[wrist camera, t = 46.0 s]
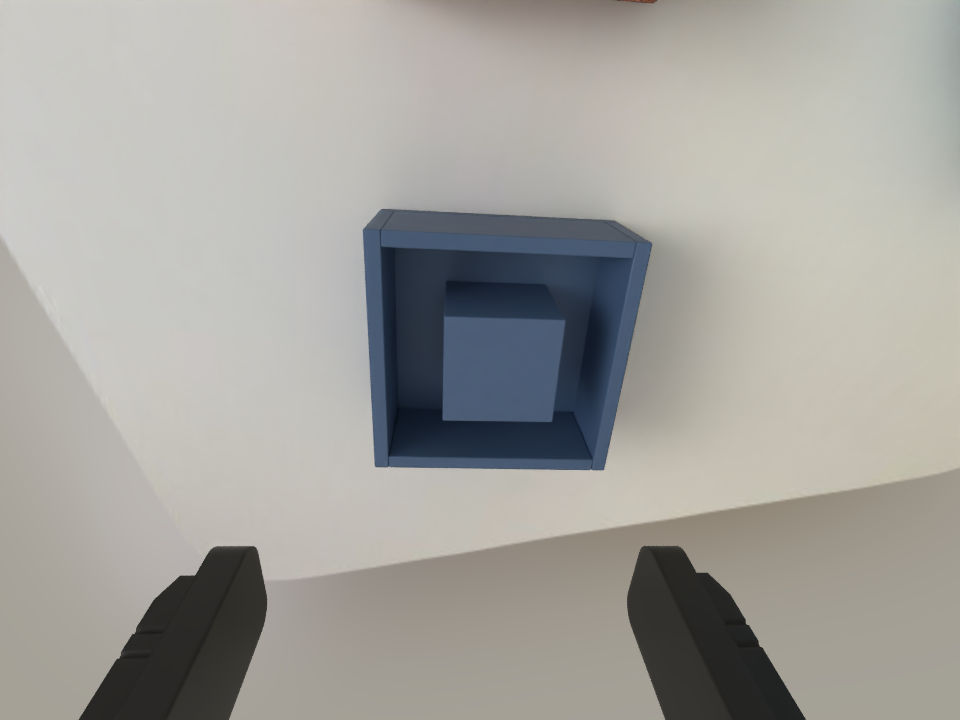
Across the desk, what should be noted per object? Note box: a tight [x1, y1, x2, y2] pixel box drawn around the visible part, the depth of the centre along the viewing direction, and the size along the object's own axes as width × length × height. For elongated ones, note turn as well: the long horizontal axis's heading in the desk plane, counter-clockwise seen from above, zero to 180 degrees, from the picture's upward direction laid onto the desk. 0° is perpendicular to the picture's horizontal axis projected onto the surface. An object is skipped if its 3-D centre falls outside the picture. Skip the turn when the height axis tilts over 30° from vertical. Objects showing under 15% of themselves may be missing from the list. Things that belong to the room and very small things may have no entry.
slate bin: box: [363, 209, 652, 470], centre depth 21 cm, size 10×10×4 cm
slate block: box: [442, 281, 566, 422], centre depth 20 cm, size 4×4×4 cm
